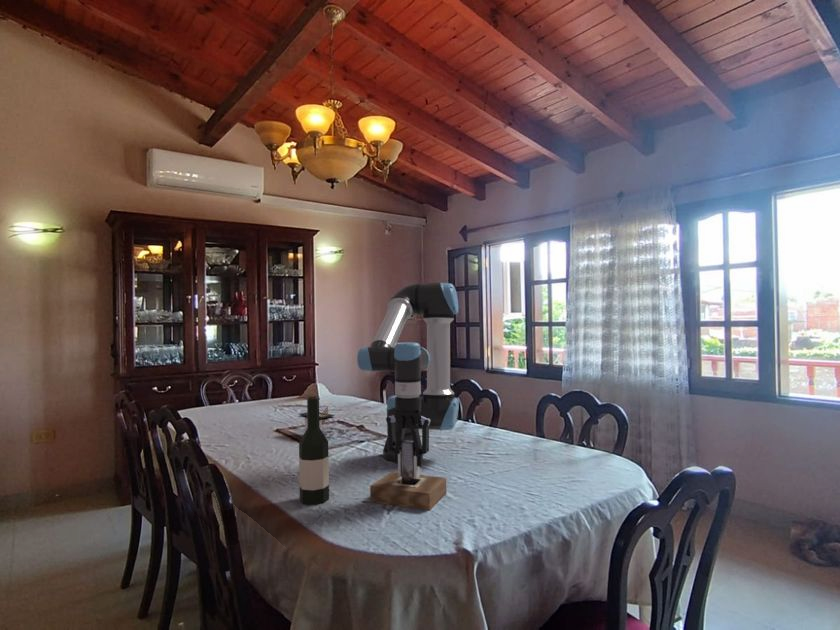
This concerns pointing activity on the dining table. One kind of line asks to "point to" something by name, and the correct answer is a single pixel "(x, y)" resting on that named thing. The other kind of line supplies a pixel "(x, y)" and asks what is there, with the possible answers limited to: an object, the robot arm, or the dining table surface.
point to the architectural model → (321, 419)
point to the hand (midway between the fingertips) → (409, 476)
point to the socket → (408, 491)
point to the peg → (407, 462)
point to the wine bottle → (313, 459)
